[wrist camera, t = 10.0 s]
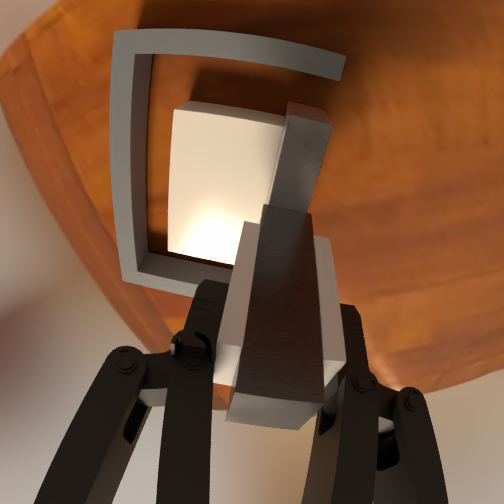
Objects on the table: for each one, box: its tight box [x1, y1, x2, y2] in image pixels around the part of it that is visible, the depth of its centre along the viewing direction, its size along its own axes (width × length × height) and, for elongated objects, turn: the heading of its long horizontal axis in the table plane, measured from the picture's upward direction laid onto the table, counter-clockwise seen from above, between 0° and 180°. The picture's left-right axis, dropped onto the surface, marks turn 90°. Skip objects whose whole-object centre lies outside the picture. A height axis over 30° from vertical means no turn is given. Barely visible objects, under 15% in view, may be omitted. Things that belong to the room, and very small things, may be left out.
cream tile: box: [168, 101, 284, 265], centre depth 19 cm, size 6×10×3 cm, turn 170°
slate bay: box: [109, 29, 346, 297], centre depth 19 cm, size 12×19×2 cm, turn 170°
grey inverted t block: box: [226, 101, 333, 430], centre depth 14 cm, size 12×2×14 cm, turn 170°
